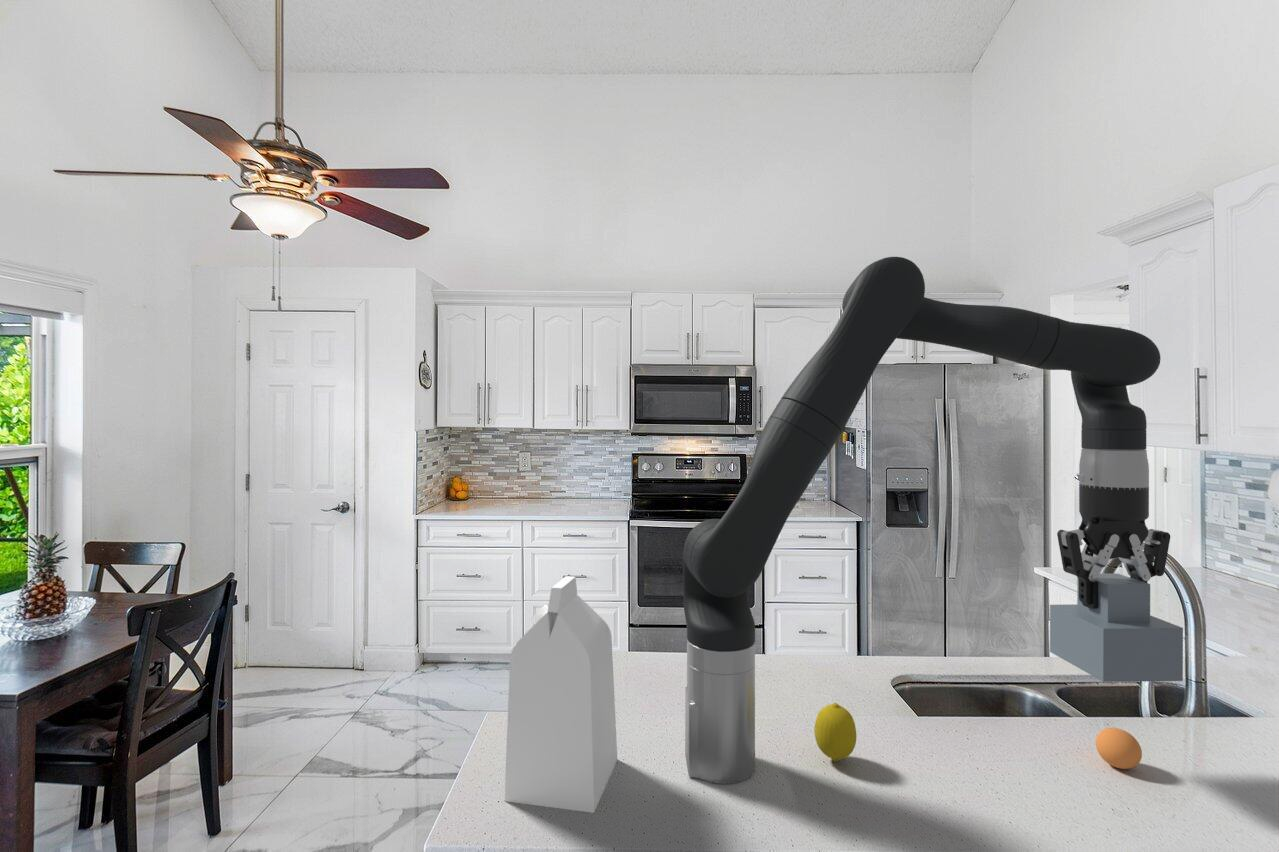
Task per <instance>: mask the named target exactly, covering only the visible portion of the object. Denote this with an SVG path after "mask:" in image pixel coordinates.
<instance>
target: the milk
mask: <svg viewBox="0 0 1279 852" xmlns="http://www.w3.org/2000/svg"><path fill="white" fill-rule="evenodd" d="M576 579H577V578H576V576H568V575H567V576H566V575H565V576H564V577H563V578H561V580H559V581H558V582H557V583H555V584H554V585H552V587H551V588H550V594H549V600H548V605H547V604H544V605H543V606H542V607H540V608H539V609H538V611H536V612H535V614H534V615H533V616H532V617H531V618H530V621H531V622H532V623H533V626H532V627H530V629H529V630H528V631H527V632H526V633H525V634H524V635H522V637H521V638H520V639H519V640H518V641H517V642H516V643H515V644H514V645H513V647H512V650H511V652H510V657H509V673H508V676H509V678H508V698H507V699H508V700H507V702H508V703H507V724H506V726H507V727H506V748H505V749H506V751H505V755H506V756H505V776H504V777H505V778H504V781H505V782H504V798H503V799H504V802H509V803H515V804H516V803H517V804H523V805H532V806H537V807H538V806H539V807H548V808H553V809H554V808H555V809H562V810H568V811H577V812H578V811H579V812H585V813H593V814H595V811H596V809H597V807H598V805H599V803H600V800H601V798H602V796H603V793H604V791H605V789H606V787H607V785H608V783H609V780H610V778H611V775H612V773H613V771H614V768H615V766H616V764H617V762H618V745H617V744H618V741H617V725H616V724H617V721H616V719H617V718H616V704H615V703H616V702H615V701H616V699H615V682H614V679H615V678H614V663H613V662H614V661H613V660H614V659H613V642H612V641H613V639H612V631H611V628H610V627H609V624H608V623H607V622H606V621H605V620H604V618H602V617H601V616H600V614H598V612H596V611H595V610H594V609H593V608H592V607H591V606H590V605H589V604H588V603H587V602H586V601H584V599H582V598H581V597H580V595H578V588H577V580H576Z"/></svg>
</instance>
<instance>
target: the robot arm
mask: <svg viewBox="0 0 1279 852" xmlns="http://www.w3.org/2000/svg"><path fill="white" fill-rule="evenodd" d="M925 283H926V282H925V279H924V275H923V273H922V271H921V269H920V268H919V267H918V265H917V264H916V263H915V262H913V261H912V260H911V259H908V258H905V257H901V256H888V257H884V258H881V259H880V258H879V259H878V260H876V261H873V262H872V263H870V264H869V265H867V266H866V267H864V269H863V270H861V271H860V273H859V274H858V275H857V276H856V277H855V279H854V281H853V282H852V283H851V284H850V286H849V287H848V289H846V292H845V294H844V297H843V299H842V304H841V305H842V313H841V315H840V317H839V319H838V320H837V322H836V324H835V326H834V328H833V330H832V331H831V333H830V334H829V336H828V338H827V339H826V340H825V341H824V343H823V345H821V347H820V348H819V349H818V350H817V351H816V352H815V354H814V355H813V356H812V357H811V358H810V359H809V361H808V362H807V363H806V364H805V366H803V368H802V370H800V371H799V373H798V374H797V376H796V377H795V378H794V379H793V381H792V382H791V383H790V385H789V386H788V387H787V389H786V390H785V392H784V394H783V395H782V396H781V399H780V400H779V401H778V403H777V404H776V406H775V408H774V409H773V410H772V412H771V414H770V416H769V418H768V420H767V421H766V423H765V425H764V427H763V429H762V431H761V433H760V435H759V438H758V441H757V443H756V446H755V448H754V453H753V457H752V460H751V463H750V466H749V468H748V469H749V470H748V473H747V476H746V479H745V481H744V482H743V485H742V487H741V489H740V490H739V492H738V493H737V496H736V497H735V499H734V500H733V501H732V503H731V504H730V505H729V507H728V509H727V510H726V512H725V513H723V516H721V518H710V519H709V518H708V519H705V520H703V521H701V522H699V523H697V524H696V525H695V526H694V527H692V528H691V530H690V531H689V533H688V535H687V537H686V539H685V542H684V546H683V550H682V551H683V552H682V554H683V555H682V578H683V579H682V581H683V582H682V583H683V584H682V585H683V586H682V587H683V612H684V618H685V623H686V686H685V689H684V690H685V695H684V699H685V700H684V704H685V705H684V706H685V707H684V710H685V711H684V712H685V713H684V715H685V718H684V719H685V720H684V721H685V722H684V727H685V728H684V733H685V734H684V737H685V739H684V741H685V742H684V747H685V748H684V752H685V761H686V766H687V774H688V777H689V778H699V779H702V780H705V782H706V781H707V782H710V783H716V784H734V783H735V784H736V783H739V782H743V781H745V780H746V779H749V778H750V777H752V775H753V774H754V772H755V768H756V623H755V619H754V617H753V614H752V611H751V605H750V602H749V601H750V600H749V592H748V591H749V589H751V587H752V586H753V585H754V584H755V583H756V582H757V581H758V579H759V577H760V575H761V573H762V572H763V570H764V567H765V565H766V563H767V561H768V560H769V558H770V555H771V553H772V551H773V549H774V547H775V544H776V542H777V540H778V539H779V536H780V534H781V532H782V530H783V528H784V526H785V525H786V524H785V523H786V522H787V520H788V518H789V517H790V515H791V513H792V512H793V510H794V508H795V507H796V505H797V504H798V502H799V500H800V499H801V497H802V496H803V494H804V493H805V491H806V490H807V488H808V486H809V485H810V483H811V482H812V480H813V479H814V477H815V475H816V474H817V472H818V470H819V469H820V467H821V465H822V464H823V462H825V460H826V459H827V457H828V456H829V453H830V452H831V450H832V448H833V447H834V445H835V444H836V442H837V441H838V439H839V437H840V436H841V434H842V433H843V431H844V430H845V427H846V425H847V424H848V422H849V420H850V418H851V417H852V414H853V412H854V411H855V409H856V407H857V405H858V403H859V401H860V400H861V397H862V396H863V395H864V392H865V390H866V388H867V387H868V385H869V382H870V380H871V378H872V376H873V374H874V372H875V370H876V369H877V367H878V365H879V363H880V362H881V360H882V359H883V357H884V356H885V354H886V352H887V351H888V350H889V349H890V347H891V346H892V344H893V343H894V342H895V340H896V339H898V340H908V341H917V342H923V343H928V344H929V343H930V344H937V345H942V346H947V347H953V348H957V349H961V350H962V349H963V350H966V351H972V352H975V353H980V354H984V355H988V356H992V357H994V358H998V359H1002V360H1006V361H1010V362H1014V363H1017V364H1021V365H1023V366H1027V367H1033V368H1036V369H1041V370H1049V371H1068V372H1069V371H1070V377H1071V382H1072V388H1073V391H1074V396H1075V399H1076V404H1077V407H1078V410H1079V412H1080V416H1081V431H1080V432H1081V440H1080V441H1081V446H1080V447H1081V450H1080V458H1079V463H1078V465H1079V467H1078V468H1079V470H1078V471H1079V473H1078V475H1079V476H1078V487H1079V488H1078V498H1079V499H1078V500H1079V501H1078V506H1079V507H1078V512H1079V515H1080V516H1081V522H1080V525H1079V526H1078V529H1073V530H1064V529H1059V530H1058V531H1057V532H1056V533H1057V534H1056V535H1057V541H1058V546H1059V552H1060V558H1061V559H1060V560H1061V564H1062V568H1063V569H1062V570H1063V571H1064V572H1065V573H1067V574H1071V575H1072V576H1076V578H1077V577H1078V579H1079V600H1080V602H1082V604H1083V605H1084V606H1086V607H1088V608H1090V609H1097V608H1098V582H1097V581H1096V580H1097V579H1098V576H1099V574H1101V572H1102V569H1103V568H1105V567H1106V566H1107V565H1108V563H1109V561H1110V560H1113V559H1117V558H1118V559H1119V561H1120V562H1122V563H1123V565H1124V567H1125V570H1126V572H1127V575H1128V577H1130V578H1133V579H1136V580H1139V581H1142V582H1145V583H1148V581H1150V580H1151V578H1153V577H1156V576H1157V577H1162V576H1164V574H1165V569H1166V564H1167V559H1168V552H1169V547H1170V542H1171V534H1170V533H1169V532H1167V531H1163V530H1161V529H1160V530H1159V529H1153V528H1150V529H1149V528H1148V527H1147V525H1146V520H1147V519H1149V517H1150V464H1149V460H1148V454H1147V429H1148V428H1147V424H1148V423H1147V416H1146V413H1145V411H1144V410H1143V408H1141V407H1140V406H1137V405H1134V404H1132V403H1131V401H1130V398H1129V394H1128V388H1127V386H1134V385H1136V384H1140V383H1143V382H1145V381H1146V380H1148V379H1149V378H1151V377H1152V376H1153V375H1154V374H1155V373H1156V372H1157V370H1158V369H1159V367H1160V364H1161V352H1160V349H1159V347H1158V346H1157V345H1156V343H1155V342H1154V341H1153V340H1152V339H1150V338H1149V337H1148V336H1146V335H1145V334H1142V333H1140V332H1137V331H1134V330H1130V329H1126V328H1121V327H1115V326H1114V327H1113V326H1109V325H1108V326H1107V325H1101V324H1093V323H1082V322H1080V323H1079V322H1073V321H1068V320H1064V319H1062V318H1059V317H1055V316H1051V315H1048V314H1043V313H1039V312H1036V311H1033V310H1032V311H1031V310H1028V309H1023V308H1018V307H1010V306H1000V305H986V304H985V305H983V304H982V305H980V304H965V303H963V304H960V303H953V302H945V301H941V300H936V299H932V298H928V297H926V296H925V293H926V284H925ZM1083 542H1084V543H1085V544H1084V543H1083ZM1143 543H1144V546H1143V547H1144V548H1142V545H1143ZM1083 544H1084V546H1083ZM1081 546H1083V548H1082V549H1081ZM1081 550H1082V551H1081ZM1094 555H1095V556H1094Z"/></svg>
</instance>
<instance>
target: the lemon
mask: <svg viewBox="0 0 1279 852" xmlns="http://www.w3.org/2000/svg"><path fill="white" fill-rule="evenodd" d="M814 738H815V741H816V744H817V747H818V748H819V750H820V751H821V752H822V754H824V756H826V757H827V758H830V759H831V760H832V761H833V762H835V763H836V762H838V761H839V760H843V759H845V758H847V757H849V756H850V755H851V754H852V753H853V752H854V749H855V747H856V744H857V728H856V722H855V720H854V718H853V716H852V714H851V713H850V712H849V711H848V710H847V709H846V708H845V707H844V706H842V705H839V703H837V702H832V703H831V704H827V705H825V706H823V707H822V708H821V709H820V710H819V711H818V713H817V715H816V719H815V723H814Z"/></svg>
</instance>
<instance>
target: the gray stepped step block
mask: <svg viewBox="0 0 1279 852" xmlns="http://www.w3.org/2000/svg"><path fill="white" fill-rule="evenodd" d="M1076 579H1077V580H1076V581H1077V584H1076V586H1077V593H1076V594H1077V595H1076V596H1077V599H1076V600H1077V602H1076V603H1077V604H1049V607H1050V608H1049V652H1050V653H1051V654H1053V655H1054V656H1056V657H1059V658H1060V659H1062V660H1063V661H1066V662H1067V663H1069V664H1071V665H1073V666H1074V667H1076V668H1078V669H1080V670H1081V671H1084V672H1085V673H1087V674H1089V675H1090V676H1093V678H1096V679H1098V680H1099V681H1101V682H1103V683H1106V682H1107V683H1115V682H1117V683H1118V682H1119V683H1120V682H1122V683H1123V682H1126V683H1127V682H1132V683H1133V682H1183V681H1184V679H1183V678H1184V671H1183V669H1184V661H1183V660H1184V656H1183V655H1184V628H1183V626H1182V627H1181V626H1180V625H1176V624H1174V623H1172V622H1169V621H1167V620H1163V619H1161V618H1159V617H1156V616H1153V615H1151V583H1148V582H1147V583H1145V582H1142V581H1139V580H1136V579H1133V578H1130V576H1126V575H1123V574H1120V573H1117V572H1116V573H1100V574H1099V576H1098V579H1097V580H1096V581H1097V582H1098V608H1097V609H1090V608H1088V607H1086V606H1084V605H1083V604H1082V602H1080V600H1079V579H1078V577H1077V576H1076Z"/></svg>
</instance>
